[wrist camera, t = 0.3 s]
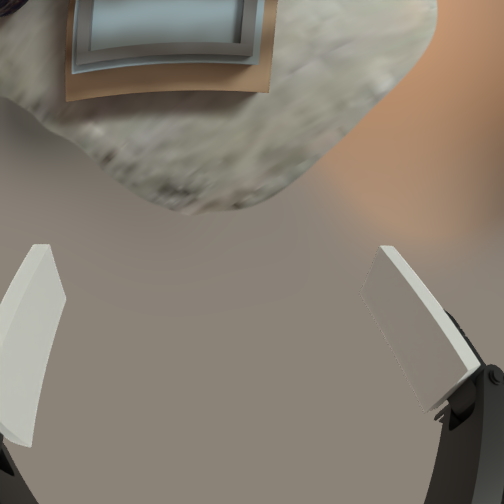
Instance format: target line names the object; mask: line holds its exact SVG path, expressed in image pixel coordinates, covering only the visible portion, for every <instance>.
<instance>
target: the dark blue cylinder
mask: <svg viewBox="0 0 504 504" xmlns="http://www.w3.org/2000/svg"><path fill="white" fill-rule="evenodd" d="M27 1H28V0H0V17H3V16H7V15H9V14H12V13H13V12H15V11H17V10H18V9H19V8H21V7H22V6H23V5H24V4H25V3H26V2H27Z"/></svg>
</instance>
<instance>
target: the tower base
mask: <svg viewBox="0 0 504 504" xmlns="http://www.w3.org/2000/svg"><path fill="white" fill-rule="evenodd" d="M277 2H278V0H69V7H68V18H67V30H66V50H65V93H66V102H70V101H76V100H82V99H89V98H96V97H103V96H111V95H120V94H130V93H142V92H157V91H182V90H223V91H248V92H263V93H269V86H270V76H271V65H272V55H273V44H274V34H275V23H276V13H277Z"/></svg>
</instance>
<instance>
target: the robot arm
mask: <svg viewBox="0 0 504 504" xmlns="http://www.w3.org/2000/svg"><path fill="white" fill-rule="evenodd" d="M359 295H360V296H361V298H362V300H363V301H364V303H365V305H366V306H367V308H368V310H369V312H370V313H371V315H372V317H373V318H374V320H375V322H376V324H377V325H378V327H379V329H380V331H381V332H382V334H383V336H384V338H385V340H386V341H387V343H388V345H389V347H390V349H391V350H392V352H393V354H394V356H395V358H396V360H397V362H398V363H399V365H400V367H401V369H402V371H403V373H404V374H405V377H406V379H407V380H408V382H409V384H410V386H411V388H412V390H413V392H414V394H415V396H416V398H417V400H418V402H419V404H420V406H421V408H422V410H423V412H424V413H426V412H429V411H431V410H433V409H435V408H438V407H439V406H440V405H441V404H442V403H443V402H444V401H445V400H448V402H449V404H448V405H447V406H445V407H444V408H443V409H442V410H441V411H440V412H439V413H438V414H437V415H436V416H435V418H434V420H437V419H438V418H440V417H441V416H442V415H443V414H444V416H443V417H442V418H441V419H440V420H439V422H441V423H443V425H442V431H441V437H440V442H439V447H438V452H437V457H436V461H435V465H434V470H433V474H432V477H431V481H430V485H429V489H428V492H427V496H426V499H425V502H424V504H504V373H503V371H502V370H501V369H500V368H499V367H497V366H496V365H492V364H490V365H487V366H486V364H485V363H484V362H483V360H482V359H481V357H480V356H479V354H478V353H477V351H476V349H475V348H474V346H473V345H472V343H471V342H470V341H469V339H468V338H467V337H466V336H465V333H464V332H463V331H462V329H460V326H459V325H458V323H457V322H456V320H455V319H454V318H453V317H452V316H451V315H450V314H449V313H448V312H447V311H445V310H444V309H443V308H442V307H441V306H440V304H439V303H438V302H437V301H436V299H435V298H434V297H433V295H432V294H431V293H430V291H429V290H428V289H427V287H426V286H425V285H424V283H423V282H422V281H421V280H420V278H419V277H418V276H417V275H416V273H415V272H414V271H413V270H412V269H411V267H410V266H409V265H408V263H407V262H406V261H405V260H404V259H403V257H402V256H401V255H400V254H399V253H398V251H397V250H396V249H395V248H394V247H393V246H379V248H378V251H377V253H376V256H375V258H374V260H373V263H372V265H371V268H370V270H369V272H368V275H367V277H366V279H365V281H364V284H363V286H362V288H361V290H360V293H359ZM65 302H66V296H65V293H64V290H63V287H62V284H61V281H60V278H59V275H58V272H57V268H56V265H55V262H54V258H53V255H52V251H51V247H50V244H34V245H33V246H32V248H31V249H30V251H29V253H28V254H27V256H26V258H25V259H24V261H23V263H22V264H21V266H20V268H19V270H18V272H17V274H16V275H15V277H14V279H13V281H12V283H11V284H10V286H9V289H8V290H7V292H6V294H5V296H4V298H3V300H2V302H1V304H0V504H38V502H37V501H36V499H35V498H34V496H33V495H32V493H31V491H30V490H29V488H28V486H27V485H26V483H25V481H24V480H23V478H22V476H21V474H20V473H19V471H18V469H17V467H16V466H15V463H14V461H13V460H12V458H11V456H10V454H9V452H8V450H7V448H6V446H5V445H4V443H3V436H5V437H6V438H7V439H8V440H10V441H11V442H12V443H16V444H19V445H23V446H27V447H31V446H32V438H33V431H34V424H35V418H36V412H37V407H38V401H39V396H40V391H41V387H42V382H43V377H44V374H45V369H46V365H47V361H48V357H49V354H50V350H51V346H52V343H53V339H54V336H55V333H56V329H57V326H58V323H59V320H60V316H61V313H62V310H63V307H64V305H65Z"/></svg>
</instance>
